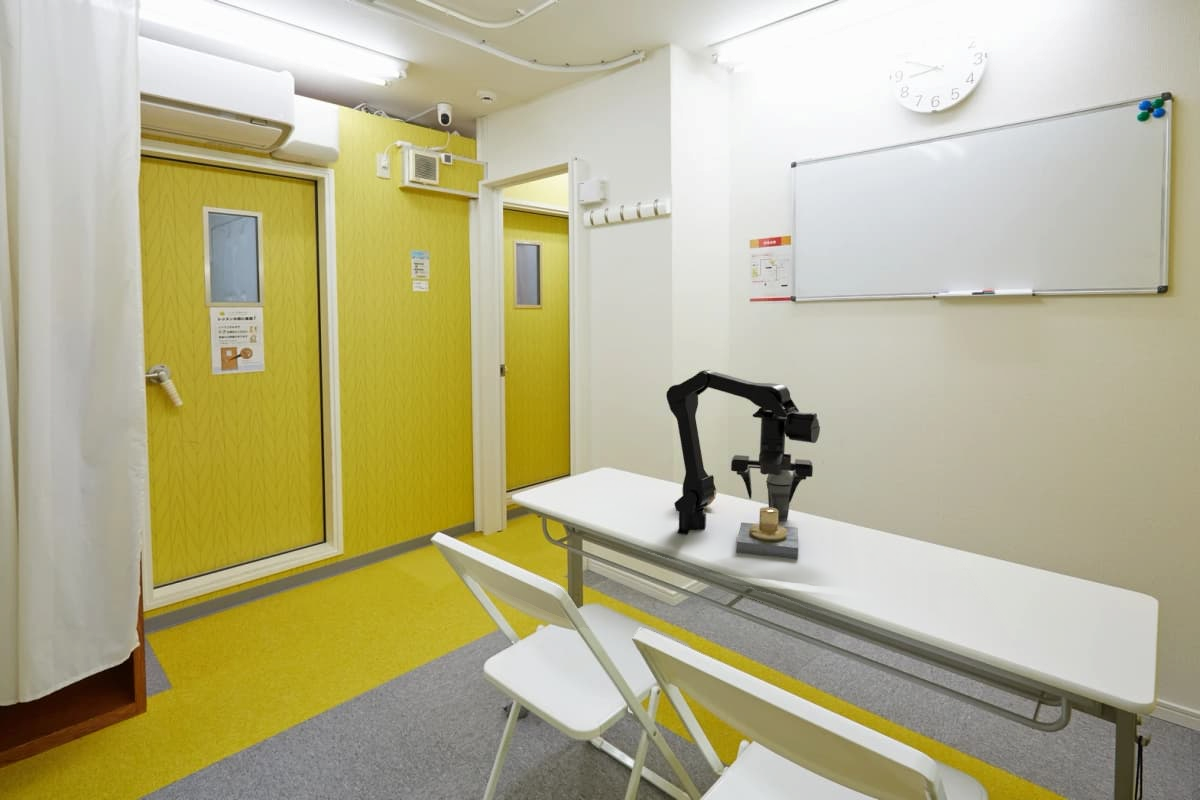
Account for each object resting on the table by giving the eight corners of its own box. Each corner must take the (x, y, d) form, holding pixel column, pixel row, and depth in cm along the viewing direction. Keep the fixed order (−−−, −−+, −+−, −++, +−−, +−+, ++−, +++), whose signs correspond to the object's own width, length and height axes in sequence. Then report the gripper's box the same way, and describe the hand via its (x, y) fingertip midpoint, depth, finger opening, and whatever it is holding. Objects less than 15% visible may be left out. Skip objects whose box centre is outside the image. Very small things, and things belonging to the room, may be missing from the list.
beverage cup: (793, 528, 173) (796, 455, 170) (765, 526, 174) (767, 454, 171) (790, 519, 180) (793, 449, 177) (763, 517, 181) (766, 448, 178)
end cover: (747, 549, 155) (748, 514, 153) (750, 536, 163) (751, 502, 162) (786, 553, 152) (788, 517, 151) (787, 540, 161) (788, 506, 159)
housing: (736, 557, 153) (736, 541, 153) (740, 537, 167) (741, 522, 166) (797, 564, 149) (798, 547, 149) (797, 542, 163) (797, 527, 162)
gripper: (730, 441, 149) (728, 506, 151) (815, 447, 144) (811, 514, 146) (734, 432, 159) (731, 493, 162) (813, 437, 154) (809, 499, 157)
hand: (769, 500), depth 156 cm, fingers open, 9 cm apart
